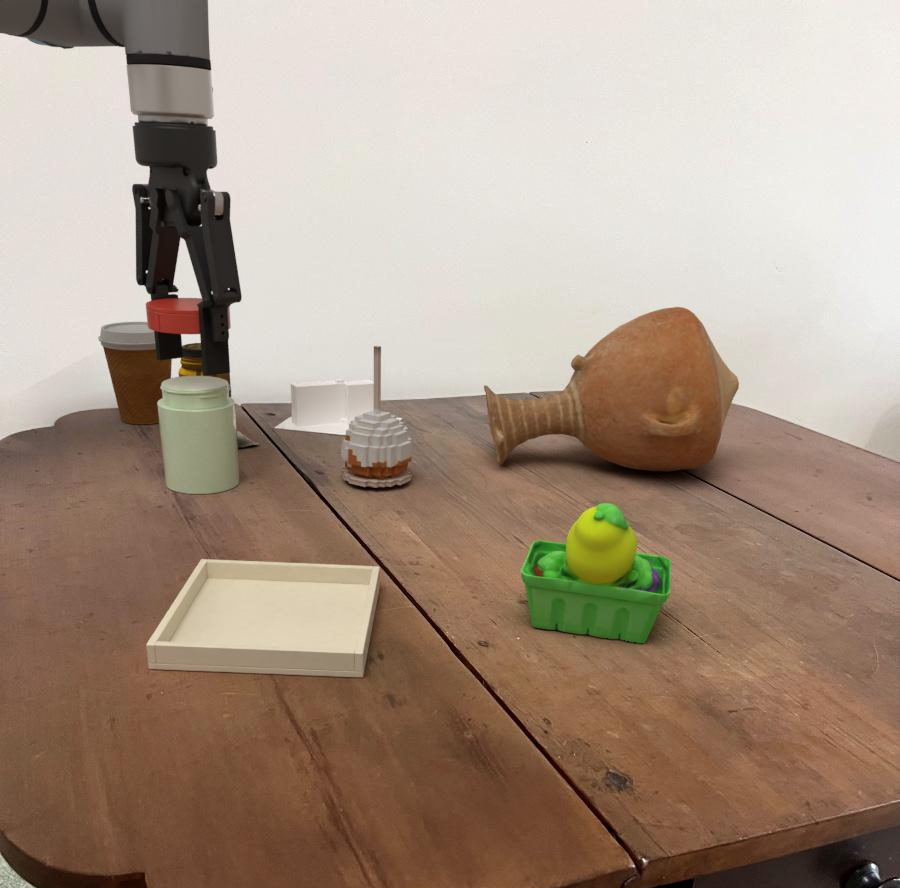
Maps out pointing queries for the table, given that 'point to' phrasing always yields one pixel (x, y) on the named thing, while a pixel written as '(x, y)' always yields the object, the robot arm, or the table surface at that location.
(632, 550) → the fruit basket
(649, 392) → the jug
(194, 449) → the jar
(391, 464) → the caramel apple
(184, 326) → the lid
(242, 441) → the condiment
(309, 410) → the napkin holder
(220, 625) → the tray
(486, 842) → the table surface
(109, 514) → the table surface
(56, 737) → the table surface
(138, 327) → the disposable coffee cup
